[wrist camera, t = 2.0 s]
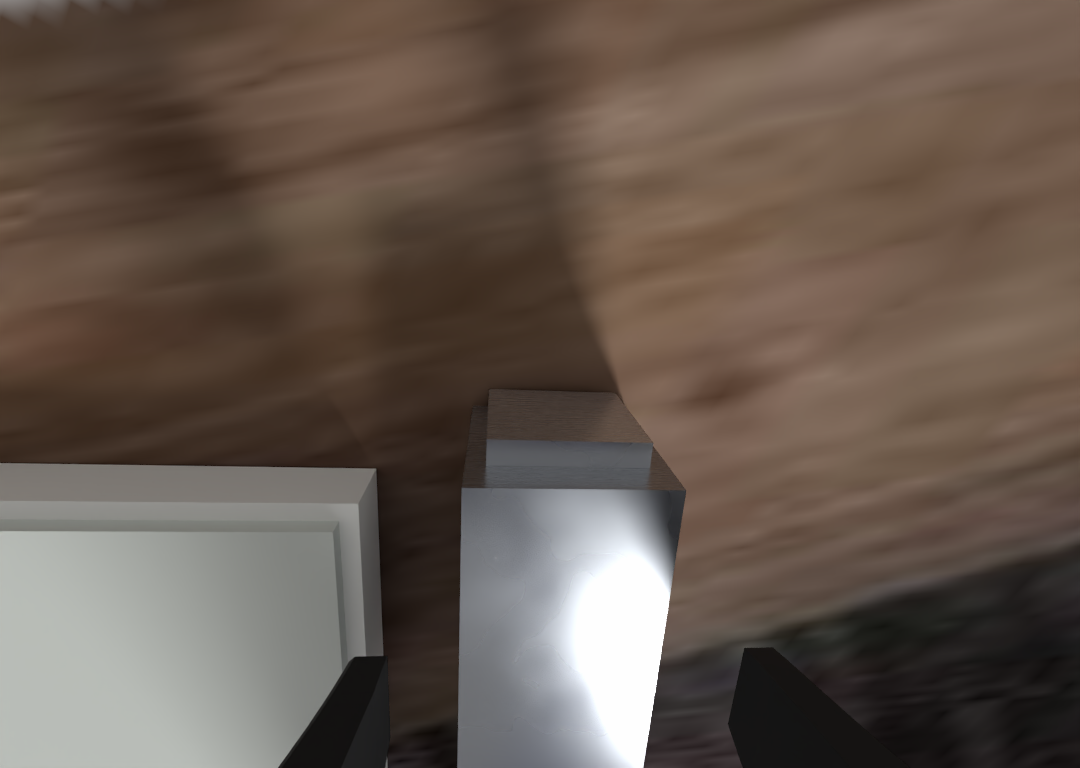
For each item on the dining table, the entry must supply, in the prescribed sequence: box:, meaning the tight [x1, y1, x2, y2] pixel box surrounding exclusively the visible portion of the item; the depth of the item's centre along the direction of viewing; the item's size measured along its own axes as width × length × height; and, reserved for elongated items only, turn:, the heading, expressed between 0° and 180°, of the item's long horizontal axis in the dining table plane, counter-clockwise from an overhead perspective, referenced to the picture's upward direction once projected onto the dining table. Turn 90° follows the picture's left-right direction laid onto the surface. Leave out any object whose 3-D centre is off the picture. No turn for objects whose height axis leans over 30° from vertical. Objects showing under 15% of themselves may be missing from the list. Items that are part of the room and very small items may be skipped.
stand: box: [0, 463, 388, 768], centre depth 15 cm, size 12×12×2 cm
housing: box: [457, 389, 686, 768], centre depth 13 cm, size 9×4×5 cm, turn 176°
